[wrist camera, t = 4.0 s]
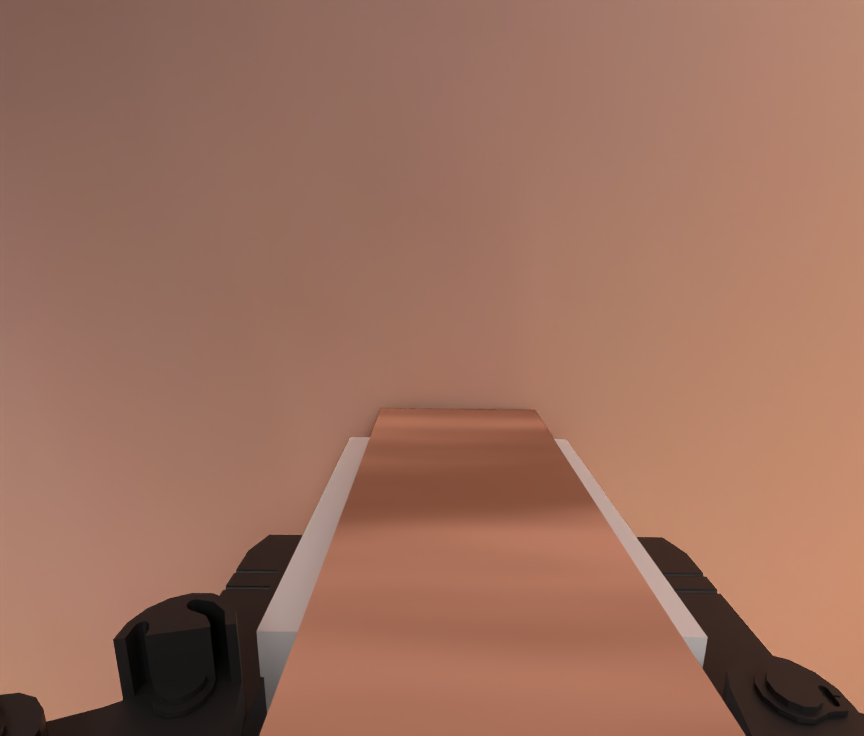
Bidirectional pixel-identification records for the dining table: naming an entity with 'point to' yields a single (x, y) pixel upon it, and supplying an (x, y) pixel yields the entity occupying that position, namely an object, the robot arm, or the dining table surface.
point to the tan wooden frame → (483, 600)
